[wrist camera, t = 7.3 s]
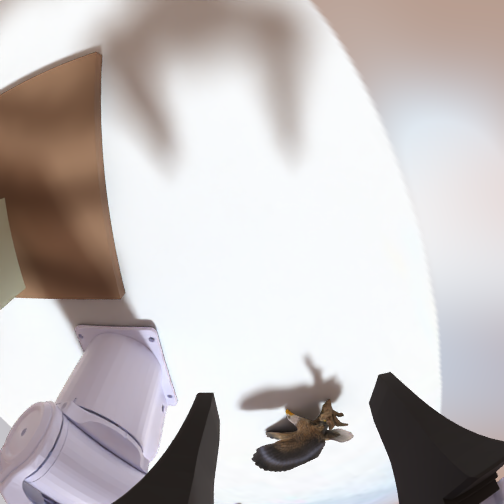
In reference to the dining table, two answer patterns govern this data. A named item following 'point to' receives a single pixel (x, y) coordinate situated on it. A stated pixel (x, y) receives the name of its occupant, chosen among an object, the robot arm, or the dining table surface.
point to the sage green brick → (8, 262)
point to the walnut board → (58, 184)
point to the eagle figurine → (301, 441)
